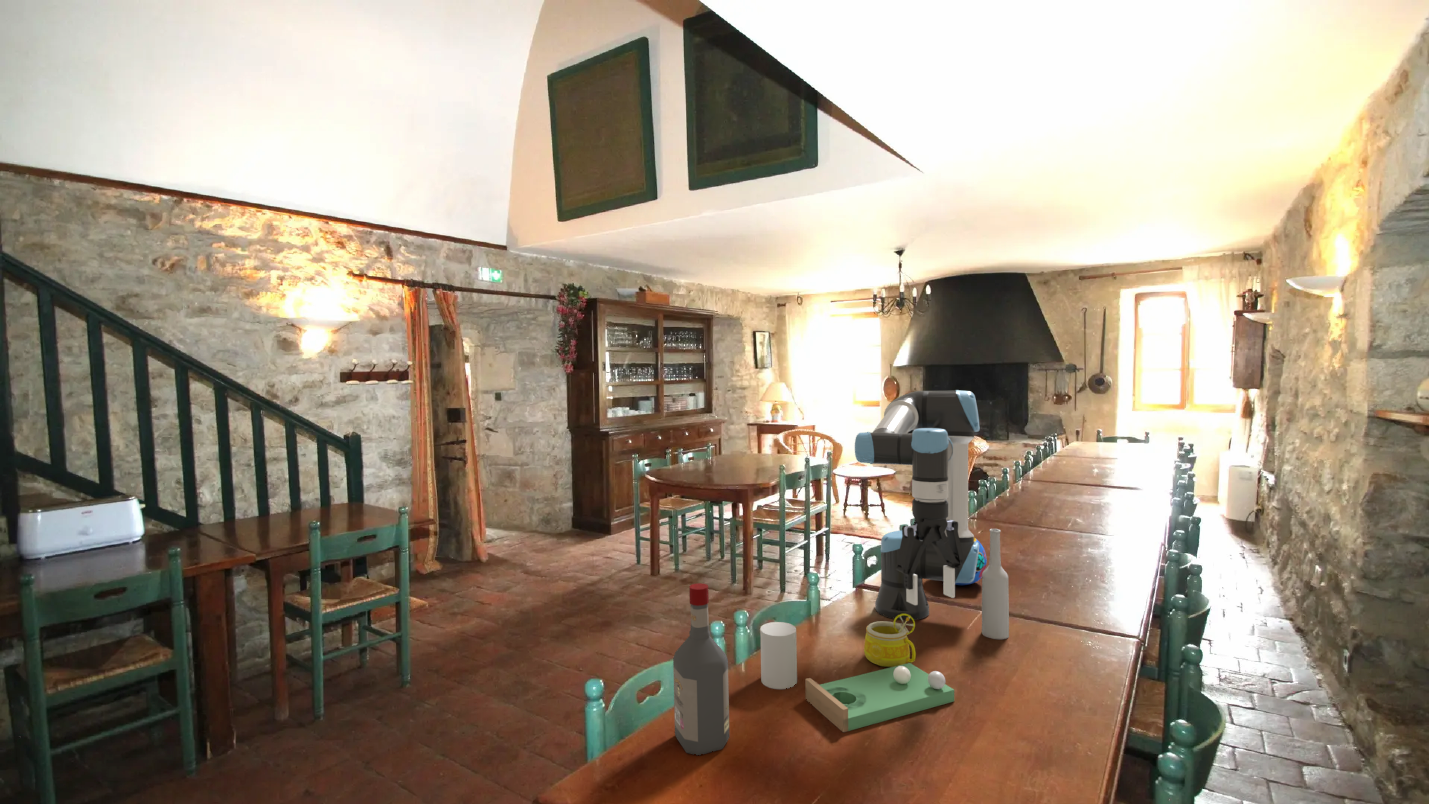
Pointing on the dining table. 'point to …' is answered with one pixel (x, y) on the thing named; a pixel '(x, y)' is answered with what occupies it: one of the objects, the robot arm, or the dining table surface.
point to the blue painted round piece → (978, 564)
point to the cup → (778, 655)
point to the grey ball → (936, 680)
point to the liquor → (701, 683)
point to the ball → (902, 675)
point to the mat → (874, 697)
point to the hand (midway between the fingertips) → (930, 599)
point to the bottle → (995, 593)
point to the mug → (889, 643)
